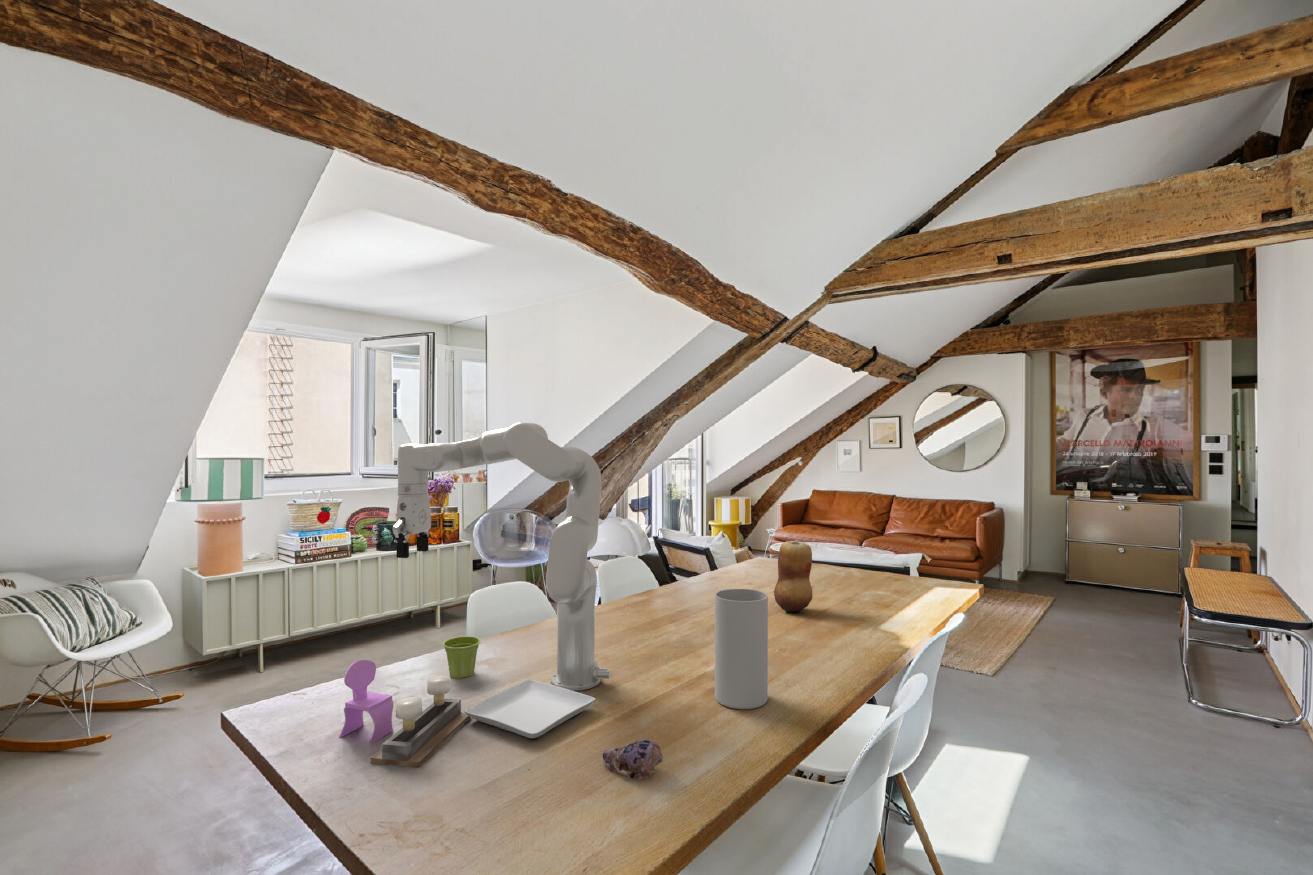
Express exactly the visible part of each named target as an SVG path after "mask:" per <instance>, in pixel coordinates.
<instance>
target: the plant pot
mask: <svg viewBox="0 0 1313 875" xmlns="http://www.w3.org/2000/svg"><path fill="white" fill-rule="evenodd" d="M480 643H481V639H480V637H477V636H472V635H471V636H470V635H469V636H468V635H467V636H455V637H453V638H452V637H451V638H449V639H447V640H444V642H443V643H442V646H443V647H444V651H445V652H446V658H447V665H448V671H449V672H448V673H449V677H450V678H451V679H452V678H453V679H463V678H466V677H467V678H469V677H471V676H473V675H474V674H475V667H476V661H477V660H476V659H477V655H478V648H479V645H480Z"/></svg>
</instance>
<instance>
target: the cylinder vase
mask: <svg viewBox="0 0 1313 875" xmlns="http://www.w3.org/2000/svg"><path fill="white" fill-rule="evenodd" d="M768 600H769V595H768V594H767V593H766V592H763V591H760V590H756V589H750V588H727V589H721V590H718V591H716V592H715V593H714V698H715V700H716V701H717V702H718V703H719V704H720V705H722V706H724V707H727V708H730V709H736V710H754V709H758V708H761V707H762V706H764V705H765V704H766V703H767V701H768V696H769V695H768V691H769V689H768V686H769V685H768V682H769V681H768V678H769V677H768V674H769V672H768V670H769V668H768V667H769V665H768V660H769V659H768V658H769V657H768V656H769V655H768V654H769V651H768V649H769V647H768V645H769V643H768V641H769V639H768V638H769V636H768V634H769V632H768V631H769V624H768V623H769V622H768V621H769V618H768V617H769V611H768V610H769V601H768Z"/></svg>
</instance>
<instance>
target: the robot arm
mask: <svg viewBox="0 0 1313 875" xmlns="http://www.w3.org/2000/svg"><path fill="white" fill-rule="evenodd" d="M548 436H549V435H548V433H547V431H546V430H545V428H544V427H543V426H542V425H540V424H538V423H534V422H516V423H513V424H511V425H510V426H509V427H505V428H499V429H494V430H489V431H484V432H483V433H482V434H481V435H480V436H478V437H475V438H470V439H466V440H462V441H456V442H438V443H436V442H435V443H433V442H432V443H427V444H422V443H404V444H401V445H399V446H398V449H397V496H398V497H397V498H398V499H397V504H396V505H397V506H396V516H395V517H396V523H395V524H394V525H393V527H392V532H393V538H394V540H395V541H394V542H395V543H396V558H397V559H408V558H409V557H410V542H408V540H409V538H410V535H411V534H412V535H417V536H416V552H429V536H430V530H431V528H432V520H433V519H432V516H431V515H432V514H431V504H430V503H431V502H430V498H429V472H431V473H439V472H446V471H448V472H449V471H456V470H462V469H466V468H467V469H468V468H472V467H476V466H483V465H492V464H497V463H502V462H503V463H504V462H506V461H507V462H509V461H512V460H518V461H519V462H521V463H522V464H523V465H525V466H527V467H528V468H529V469H531V470H533V471H534V472H535V473H537V474H538V475H540V476H541V477H543V478H545V479H547V480H548V481H551V482H554V483H555V482H556V483H562V482H566V481H568V483H569V489H568V493H567V496H566V497H567V498H566V508H565V517H564V520H563V521H562V522H559V524H558V525H557V526H555V528H554V529H553V531H552V533H551V537H550V540H549V546H548V557H547V566H546V575H545V586H546V588H545V589H546V590H547V591H546V592H547V594H548V595H549V596H548V597H550V599H551V600H553V601H554V602H555V603H557V608H556V609H557V610H556V611H557V612H556V672H555V673H554V674H552V675H551V677H550V684H551V685H554V686H558V687H561V688H565V689H568V690H572V691H575V692H579V691H585V690H590V689H592V688H594V687H596V686H597V685H598V686H599V684H600V683H601V679H606V680H607V679H609V680H610V679H611V674H612V673H611V670H609V668H608V667H600V666H598V665H599V664H598V662H599V661H595V620H596V618H595V614H596V612H595V610H596V609H595V608H596V592H597V584H598V582H597V581H598V580H597V579H598V578H597V577H598V576H597V571H596V568H595V566H594V564H593V563H592V562H591V561H590V560H589V559H588V552H590V551H591V550H592V549H593V548H594V547H595V546H596V544H597V542H598V533H599V520H600V510H601V496H602V486H603V485H602V484H603V483H602V481H603V480H602V473H601V470H600V467H599V465H598V463H597V462H596V461H595V460H596V459H594V458H593V457H592V456H591V455H590V454H589V453H587V452H586V451H584V450H583V449H580V448H578V447H573V446H562V447H561V446H560V445H558V444H557V443H555V442H553V441H551V439H549V437H548Z"/></svg>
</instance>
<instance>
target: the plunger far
mask: <svg viewBox="0 0 1313 875" xmlns="http://www.w3.org/2000/svg"><path fill="white" fill-rule="evenodd" d="M451 679H452V677H451V676H450V675H449V676H448V675H435V676H432V677H429V678H428V679H427V680H426V681H427V682H426V685H427V686H426V688H427V689H426V692H427V694H428V695H430V696H433V703H434V705H435V706H440V705H443V704H444V699H445V694H447V693H450V692H451V691H452V689H451V686H452V685H451V684H452V683H451V682H452V680H451Z"/></svg>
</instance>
